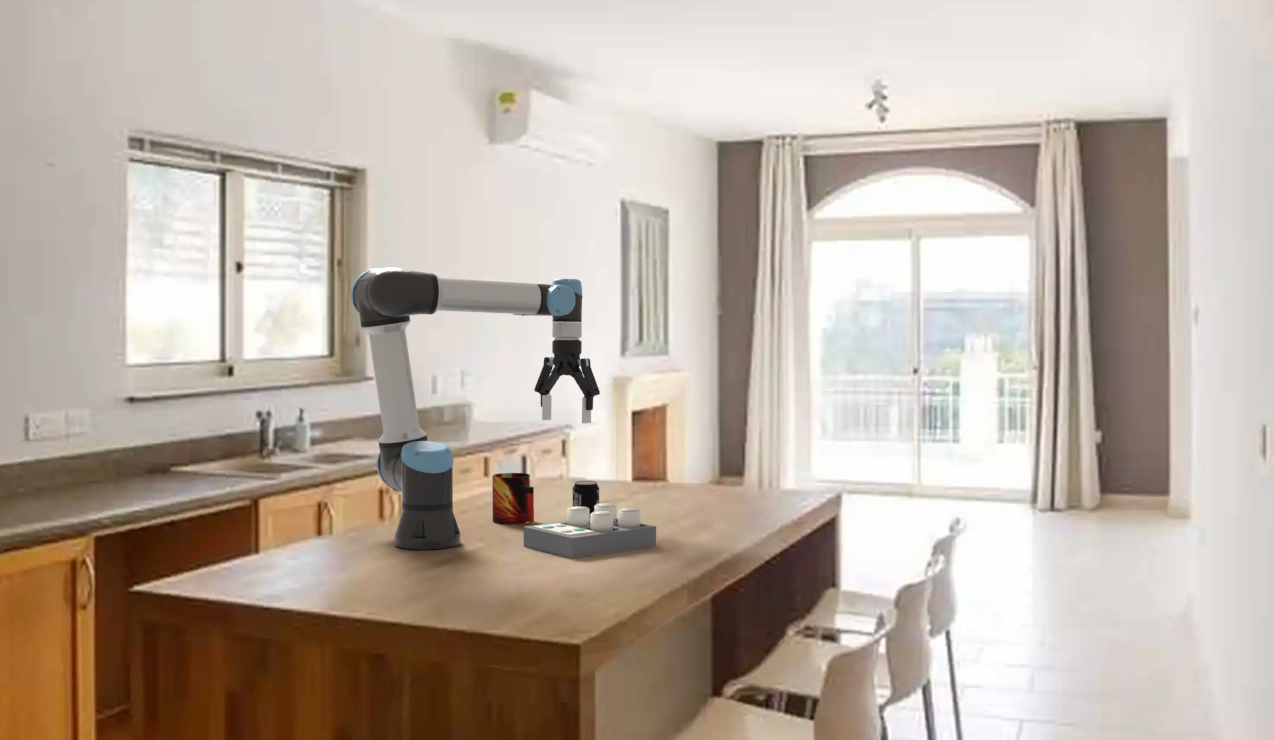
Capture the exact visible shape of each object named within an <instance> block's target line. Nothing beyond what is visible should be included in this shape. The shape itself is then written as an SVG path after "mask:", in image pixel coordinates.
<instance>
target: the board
mask: <svg viewBox="0 0 1274 740" xmlns="http://www.w3.org/2000/svg"><path fill="white" fill-rule="evenodd" d="M656 546H657V526H656V525H651V524H647V523H641V522H640V527H635V528H628V529H627V528H622V527H618V517H616V522H613V531H606V532H595V531H591V530H590V518H589V525H588V526H581V527H573V526H569V525H567V520H566V521H564V520H563V521H557V522H551V523H549V522H548V523H540V524H534V525H526V526H523V547H525V548H530V549H533V550H538V551H540V552H541V551H542V552H544V553H546V552H547V553H550V554H553V555H558V556H561V557H565V558H569V559H578V558H585V557H590V556H591V557H592V556H598V555H605V554H611V553H616V552H623V551H629V550H637V549H645V548H649V547H656Z"/></svg>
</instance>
